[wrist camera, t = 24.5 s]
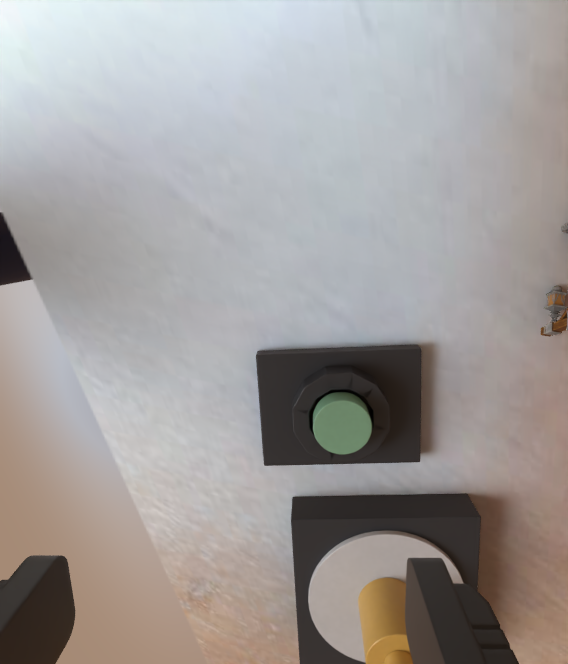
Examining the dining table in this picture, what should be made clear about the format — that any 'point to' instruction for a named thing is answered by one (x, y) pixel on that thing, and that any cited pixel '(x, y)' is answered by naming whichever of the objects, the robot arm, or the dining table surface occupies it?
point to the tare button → (341, 423)
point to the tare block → (340, 376)
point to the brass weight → (384, 622)
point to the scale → (369, 559)
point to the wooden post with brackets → (556, 308)
